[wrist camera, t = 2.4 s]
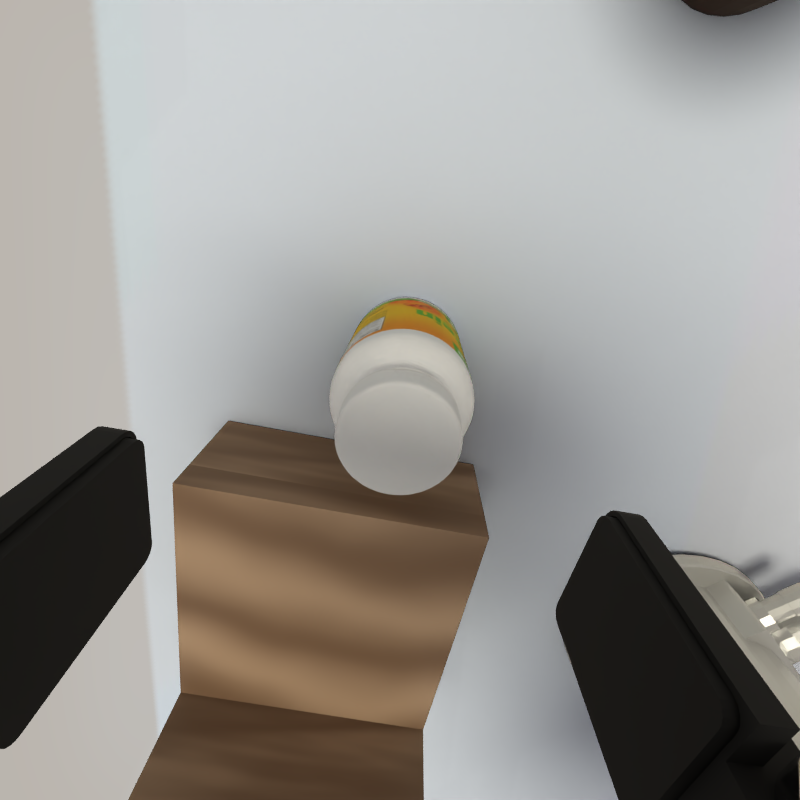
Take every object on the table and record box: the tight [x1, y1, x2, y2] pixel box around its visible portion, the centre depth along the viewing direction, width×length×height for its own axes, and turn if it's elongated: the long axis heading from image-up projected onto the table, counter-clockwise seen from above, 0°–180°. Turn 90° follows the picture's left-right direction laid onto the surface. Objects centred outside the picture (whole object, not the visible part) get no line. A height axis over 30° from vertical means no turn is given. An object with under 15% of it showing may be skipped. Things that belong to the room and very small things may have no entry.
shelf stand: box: [129, 421, 489, 800], centre depth 21 cm, size 16×14×14 cm
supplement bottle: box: [329, 297, 475, 495], centre depth 18 cm, size 5×5×10 cm
